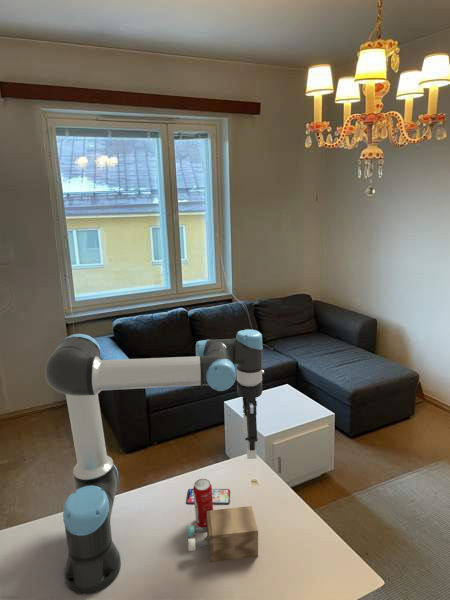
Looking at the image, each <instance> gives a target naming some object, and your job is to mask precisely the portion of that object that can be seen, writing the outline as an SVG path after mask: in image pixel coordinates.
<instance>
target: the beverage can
mask: <svg viewBox="0 0 450 600" xmlns="http://www.w3.org/2000/svg"><path fill="white" fill-rule="evenodd" d="M192 489H193V490H194V503H195V505H194V511H195V512H194V513H195V523H196V525H197V526H198V528H201V527H207V511H209V510H214V505H213V500H212V489H213V488H212V484H211V481H210V480H209V479H207V478H199V479H197V480H196V481H195V482H194V484H193V488H192Z"/></svg>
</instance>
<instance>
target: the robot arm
mask: <svg viewBox="0 0 450 600" xmlns="http://www.w3.org/2000/svg"><path fill="white" fill-rule="evenodd" d="M263 349H264V347H263V334H262V333H261V332H260V331H259V330H256V329H249V328H248V329H244V330H239V331H237V332H236V336H235V338H223V339H203V340H198V341H196V344H195V356H175V357H174V356H172V357H150V358H128V359H125V358H124V359H123V358H122V359H101V357H102V356H101V355H102V352H101V346H100V345H99V343H98V342H97V340H96V339H94V338H93V337H92V336H90V335H88V334H86V333H85V334H83V333H74V334H71V335H69V336H67V337H66V338H65V339H63V340H61V342H59V344H58V345H57V347H56V349H55V350H54V351H53V352H52V354H51V355H50V356H49V357H48V359H47V360H46V363H45V367H44V376H45V380H46V382H47V384H48V385H49V386H50V387H51V389H53V390H55V391H56V392H58V393H60V394H63V395H65V399H66V403H67V404H66V405H67V410H68V416H69V422H70V427H71V434H72V439H73V445H74V451H75V457H76V464H75V465H74V467H73V470H72V473H73V478H74V486H75V491H74V492H72V493H71V494H70V495H68V497H67V499H65V501H64V505H63V514H62V518H63V519H62V520H63V523H64V528H65V529H64V531H65V536H66V544H67V552H68V554H67V558H66V562H65V567H64V575H63V576H64V580H65V581H64V582H65V585H66V587H67V588H68V589H69V590H70V591H71V592H73V593H74V594H77V595H78V594H79V595H90V594H94V593H97V592H100V591H103V590H105V589H106V588H107V587H109V586H110V585H111V584H112V583H113V582H114V581H115V580H116V578H117V577H118V576H119V574H120V571H121V568H122V566H121V565H122V562H121V561H122V560H121V555H120V554H121V553H120V552H119V550H118V548H117V547H116V545H115V543H114V541H113V538H112V527H111V526H112V525H111V517H112V512H113V507H114V502H115V498H116V493H117V489H118V485H119V472H118V469H117V467H116V465H115V464H114V460H113V458H112V457H111V456H109V455H108V454H107V448H106V441H105V434H104V426H103V420H102V413H101V407H100V401H99V400H100V399H99V394H100V393H101V392H102V391H114V390H117V391H118V390H135V389H136V390H137V389H153V388H154V389H155V388H174V387H175V388H176V387H189V386H190V387H192V386H209V387H210V388H211V389H213V390H215V391H217V392H224V391H226V390H228V389H230V388H231V387H232V386H233V385H234V384H235V382H236V394H237V395H238V396H239V397H241V398H242V413H243V414H242V415H243V416H242V419H243V424H242V425H243V426H242V429H243V434H246V435H247V437H244V438H245V439H244V440H245V441H246V458H247V460H252V459H253V460H254V459H257V447H258V445H257V442H258V441H259V440H258V439H259V438H258V431H257V429H258V427H257V414H258V413H257V407H258V401H257V398H259V397H260V396H261V395H262V394H263V374H265V370H263ZM235 365H236V367H235Z"/></svg>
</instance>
